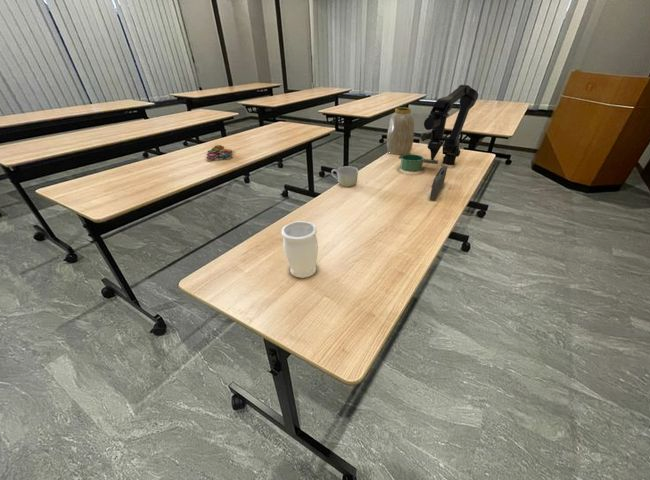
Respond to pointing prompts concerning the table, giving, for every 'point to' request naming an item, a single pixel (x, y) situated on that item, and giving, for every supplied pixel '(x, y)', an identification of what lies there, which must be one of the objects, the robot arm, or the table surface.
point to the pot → (414, 162)
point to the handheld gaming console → (438, 182)
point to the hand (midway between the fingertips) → (433, 157)
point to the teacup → (346, 175)
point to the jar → (300, 247)
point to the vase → (400, 132)
